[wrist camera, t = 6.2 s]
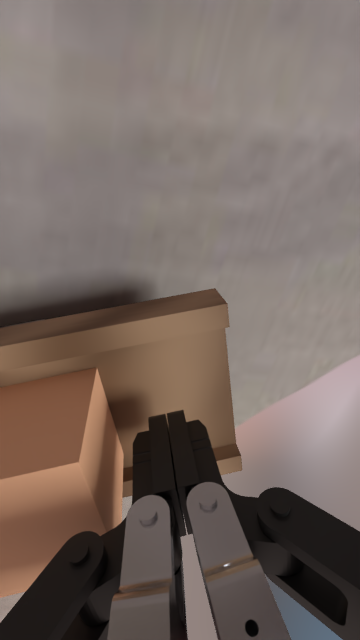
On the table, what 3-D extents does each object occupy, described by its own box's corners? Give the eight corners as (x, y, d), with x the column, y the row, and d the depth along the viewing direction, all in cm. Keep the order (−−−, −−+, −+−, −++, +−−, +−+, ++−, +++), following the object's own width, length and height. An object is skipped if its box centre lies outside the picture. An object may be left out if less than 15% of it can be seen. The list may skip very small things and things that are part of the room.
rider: (97, 367, 13) (78, 461, 9) (123, 454, 15) (120, 567, 11) (-75, 402, 13) (-189, 522, 8) (-25, 487, 15) (-93, 620, 10)
